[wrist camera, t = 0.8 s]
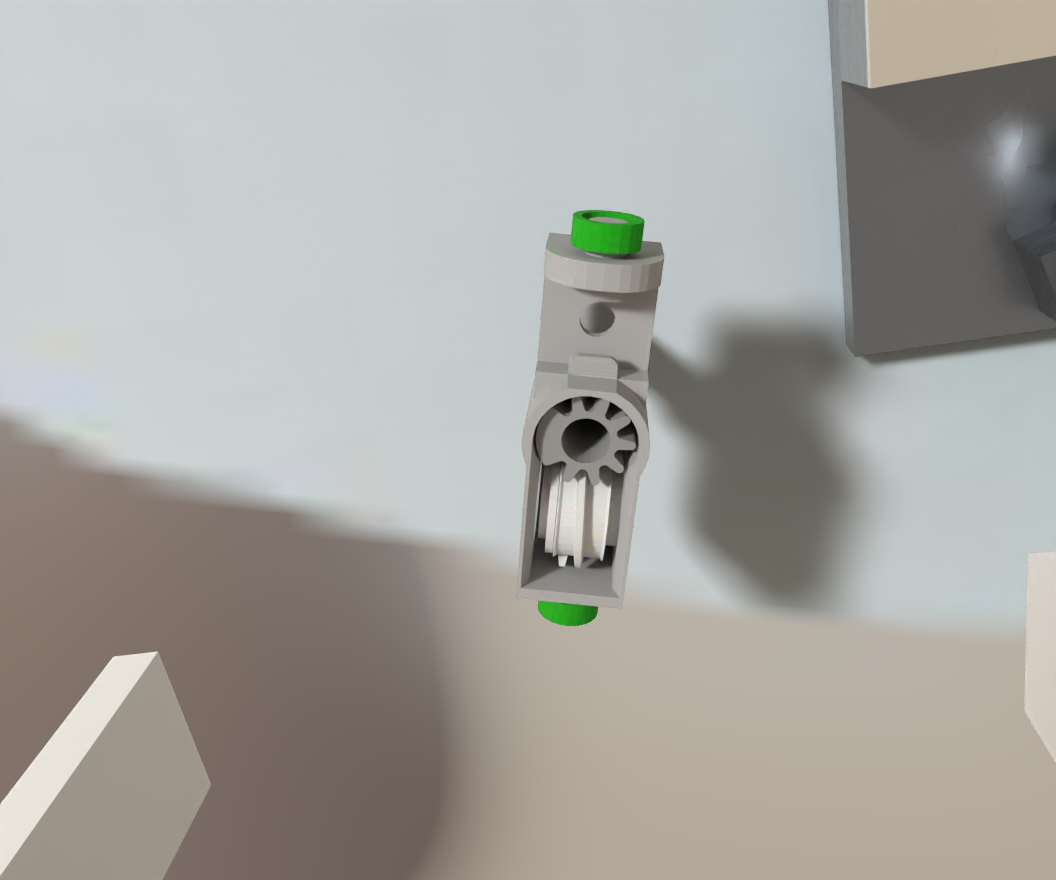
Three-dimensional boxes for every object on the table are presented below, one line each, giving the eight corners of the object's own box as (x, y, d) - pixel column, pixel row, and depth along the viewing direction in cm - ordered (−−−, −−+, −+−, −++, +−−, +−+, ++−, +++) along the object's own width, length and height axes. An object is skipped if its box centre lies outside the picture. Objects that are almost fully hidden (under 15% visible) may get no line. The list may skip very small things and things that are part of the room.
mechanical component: (656, 165, 29) (679, 232, 20) (619, 467, 34) (624, 637, 24) (560, 157, 29) (538, 220, 20) (534, 459, 34) (507, 624, 24)
